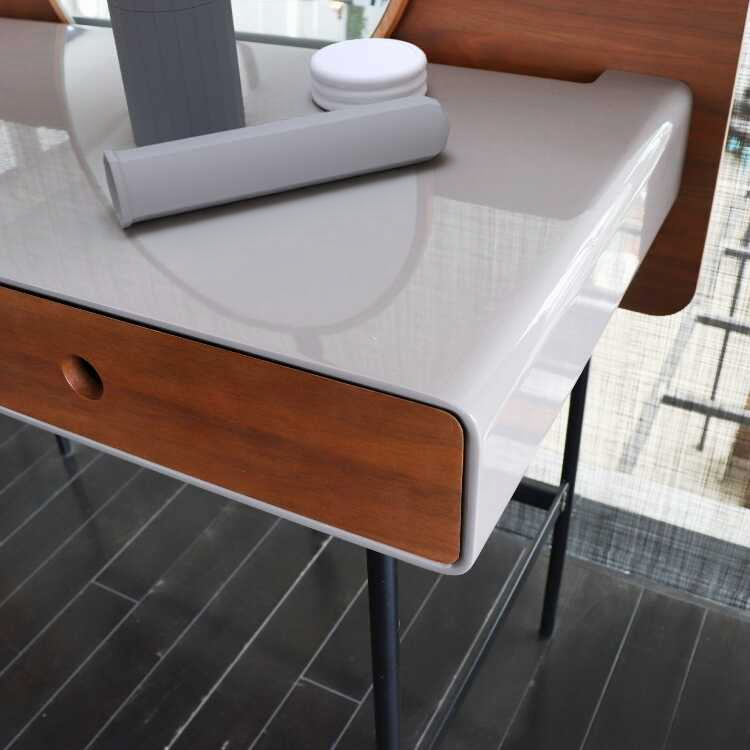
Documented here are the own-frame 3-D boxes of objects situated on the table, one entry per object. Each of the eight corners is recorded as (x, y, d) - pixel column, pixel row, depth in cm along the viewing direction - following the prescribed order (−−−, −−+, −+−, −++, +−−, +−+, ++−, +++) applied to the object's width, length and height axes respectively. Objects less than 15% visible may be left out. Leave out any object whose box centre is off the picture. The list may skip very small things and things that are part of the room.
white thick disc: (441, 109, 83) (441, 68, 81) (323, 124, 81) (320, 82, 79) (410, 69, 91) (409, 30, 89) (302, 82, 89) (299, 43, 87)
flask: (128, 160, 77) (90, -29, 69) (140, 115, 84) (107, -60, 76) (245, 151, 78) (221, -37, 69) (246, 108, 85) (225, -68, 77)
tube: (426, 87, 76) (98, 148, 69) (456, 86, 72) (108, 152, 64) (435, 157, 78) (117, 224, 71) (465, 161, 73) (127, 233, 66)
